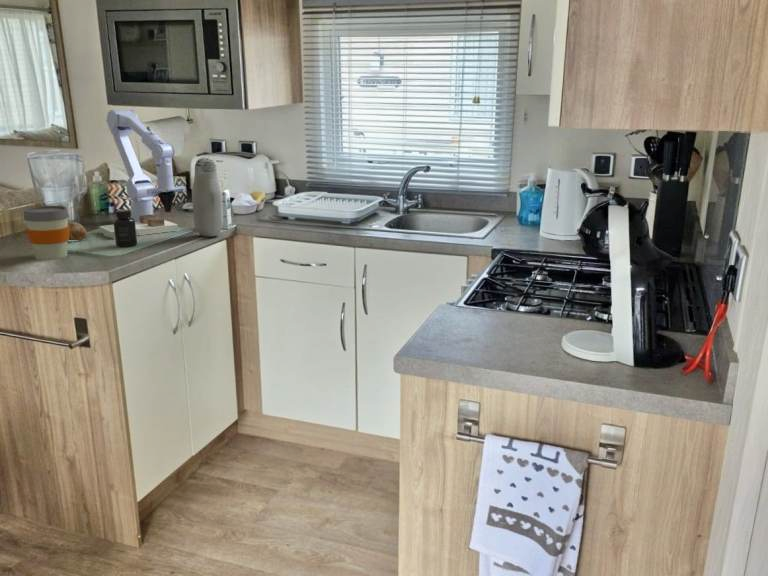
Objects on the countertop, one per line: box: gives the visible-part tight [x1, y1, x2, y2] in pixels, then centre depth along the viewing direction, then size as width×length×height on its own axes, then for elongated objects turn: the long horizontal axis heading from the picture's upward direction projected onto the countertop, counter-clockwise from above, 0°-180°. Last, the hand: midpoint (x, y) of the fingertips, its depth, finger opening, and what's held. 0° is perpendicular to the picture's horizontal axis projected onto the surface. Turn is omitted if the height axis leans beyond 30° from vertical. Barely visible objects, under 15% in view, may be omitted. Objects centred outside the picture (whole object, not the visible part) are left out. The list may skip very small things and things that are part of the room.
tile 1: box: [139, 214, 157, 224], centre depth 253 cm, size 4×4×2 cm
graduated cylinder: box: [221, 188, 233, 230], centre depth 255 cm, size 6×6×14 cm
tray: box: [98, 224, 139, 239], centre depth 243 cm, size 14×9×2 cm, turn 41°
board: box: [135, 219, 179, 236], centre depth 251 cm, size 14×15×2 cm
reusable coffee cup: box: [23, 205, 70, 261], centre depth 208 cm, size 13×13×15 cm
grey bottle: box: [191, 157, 223, 238], centre depth 239 cm, size 10×10×28 cm
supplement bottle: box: [113, 209, 138, 248], centre depth 225 cm, size 7×7×12 cm
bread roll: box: [68, 221, 89, 241], centre depth 234 cm, size 10×10×8 cm
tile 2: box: [147, 216, 165, 227], centre depth 247 cm, size 4×4×2 cm
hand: (167, 211), depth 257 cm, fingers closed
